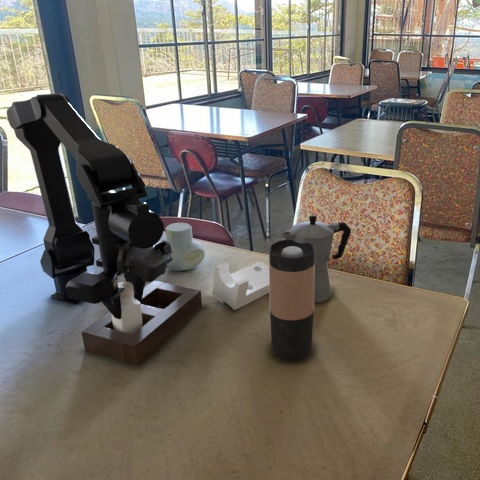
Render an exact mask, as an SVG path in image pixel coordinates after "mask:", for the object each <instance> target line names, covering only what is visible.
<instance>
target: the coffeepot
mask: <svg viewBox="0 0 480 480" xmlns="http://www.w3.org/2000/svg"><path fill="white" fill-rule="evenodd" d="M317 218H318V217H317V215H315V214H314V215H312V214H311V215H309V216H308V219H309V221H301V222H299V223H296V224H293V225H291V228H290V229H287V230H284V232H282V234H281V238H282V239H283V238H284V240H287V239H291V240H294V241H295V242H297V243H305V242H309V243H311V244H312V245H313V246H314V248H315V285H314V304H318V303H322V302H325V301H327V300H328V299H329V298H331V297H332V290H331V279H330V273H329V265H328V262H329V260H330V255H331V249H332V244H333V241H334V234H336V233H339V232H343V233H342V234H341V238H340V242H339V245H338V247H337V252H336V253H335V254H332V255H331V257H332V259H333V260H338V259H341V258H342V257H343V255H344V252H345V249H346V246H347V244H348V241H349V238H350V236H351V234H352V228H351V227H350V226H349V225H348V224H347V223H346V222H343V221H342V222H331V223H329V224H328V223H325V222H323V221H317Z"/></svg>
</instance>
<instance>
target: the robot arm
mask: <svg viewBox="0 0 480 480" xmlns="http://www.w3.org/2000/svg"><path fill="white" fill-rule="evenodd" d="M6 118H7V121H8V124H9V126H10V128H11V129H12V130H13V131H14V135H15V137H16V139H17V140H18V141H20V142H21V144H23V145H24V147H26V148H27V150H28V151H29V153H30V156H31V160H32V164H33V168H34V172H35V177H36V179H37V183H38V187H39V191H40V195H41V199H42V204H43V207H44V211H45V215H46V218H47V223H48V226H47V229H46V232H45V234H44V236H43V239H42V240H43V246H44V250H43V253H42V256H41V258H40V261H39V263H40V266H41V269H42V271H43V272H44V274H46V275H47V276H49V277H50V278H51V279H53V283H54V288H55V292H54V293H53V294H51V295H50V299H51V300H56V301H60V302H64V303H67V304H72V305H74V304H77V303H79V302H84V303H88V304H92V305H96V304H100V303H102V304H103V306H104V307H105V308H106V309H107V310H108V311H109V312H110V313H111V314H112V315H113V316H114V317H115V318H116V319H121V315H122V311H121V301H120V294H121V293H122V291H123V290H124V289H125V288H123V287H119V286H118V283H119V282H118V281H119V278H121V277H122V276H123V277H124V280H125V282H130V283H132V284H133V289H134V298H135V299H137V300H138V301H139V302H140V304H141V300H142V295H143V291H144V287H146V283H151V282H153V281H157V279H158V278H159V277H160V276H162V275H164V274H165V273H166V271H167V268H166V267H167V264H168V263H170V262H171V261H172V260H173V258H172V257H171V255H172V250H171V245H170V243H169V242H167V241H166V240H165V239H163V240H161V239H162V238H163V234H164V230H165V225H164V224H165V223H164V222H163V220H162V218H161V217H160V215H159V214H158V213H155V212H154V211H152V210H150V205H149V203H147V202H145V201H140V199H143V198H147V197H148V192H147V190H146V184H145V181H144V180H143V178H142V177H141V175H140V172H138V170H137V168H136V166H135V164H134V163H133V160H132V159H131V158H130V157H129V156H128V155H127V154H126V153H125V152H124V151H123V150H121V149H120V148H119V147H118V146H117V145H116V144H112V143H109V142H106V141H103V140H102V139H101V138H99V137H98V135H97V134H96V133H95V132H94V130H93V129H91V127H90V126H89V125H88V124H87V123H86V121H85V120H84V119H83V118H82V116H80V114H79V113H78V112H77V111H76V110H75V108H73V106H72V105H71V102H70V99H69V97H68V95H66V94H62V93H59V92H57V93H45V94H43V93H42V94H37V95H36V96H32V97H31V98H29V99H26V100H18V101H13V102H12V103H11V106H10V107H8V108H7V109H6ZM61 144H62V145H63V146H64V148H65V149H66V150H67V151H68V152H69V154H70V155H71V156H72V157H73V159H74V160H75V162H76V169H75V174H76V176H77V180H78V182H79V184H80V186H81V188H82V189H83V190H84V192H85V193H86V198H87V200H89V201H91V207H92V208H91V209H92V213H93V220H94V225H95V231H96V235H95V236H93V237H90V233H89V232H88V231H87V230H85V229H84V228H82V226H80V224H78V223H77V220H76V217H75V212H74V208H73V204H72V200H71V196H70V192H69V187H68V183H67V179H66V174H65V170H64V166H63V161H62V157H61V153H60V147H61ZM130 186H131V188H128V187H130ZM124 188H126V189H124ZM120 189H122V190H120ZM116 190H118V191H116ZM160 240H161V241H160ZM95 245H97V246H98V248H99V254H100V255H99V256H100V258H98V259H96V260H95ZM94 265H96V267H99V268H102V270H101V271H100V272H99V273H93V272H90V271H89V272H88V267H93V266H94Z"/></svg>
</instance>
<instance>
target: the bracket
mask: <svg viewBox="0 0 480 480" xmlns="http://www.w3.org/2000/svg"><path fill="white" fill-rule="evenodd" d="M267 294H269V266H267V264H265V263H263V262H262V260H261V261H257V262H254V263H253V264H250V265H248V266H246V267H243V268H241V269H239V270H236V271H234V272H231V270H230V264H229V263H228V262H227V261H225V262H222V263H221V264H218V265H216V266H215V272H214V279H213V285H212V293H211V295H212V296H214V297H215V298H216V299H217V300H218V301H219V302H220V303H222V304H225V303H226V304H227V305H228V306H229V307H230V308H231V309H233V310H234V311H236V310H238V309H240V308H242V307H244V306H245V305H247V304H250V303H251V302H254V301H255V300H257V299H260V298H261V297H263V296H266V295H267Z"/></svg>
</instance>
